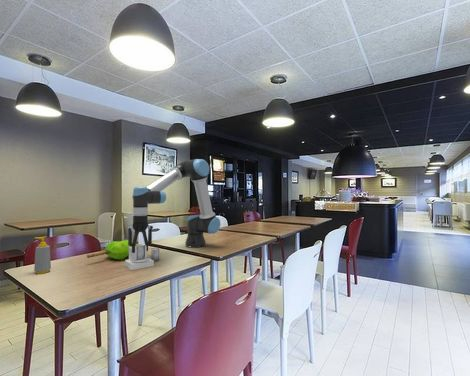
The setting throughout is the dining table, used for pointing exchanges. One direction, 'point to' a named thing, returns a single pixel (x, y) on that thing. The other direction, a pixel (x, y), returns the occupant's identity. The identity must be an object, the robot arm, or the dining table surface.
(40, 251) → the soap bottle
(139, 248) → the spacer
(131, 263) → the light grey square stand
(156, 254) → the spacer
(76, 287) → the dining table surface
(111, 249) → the decorative tree
